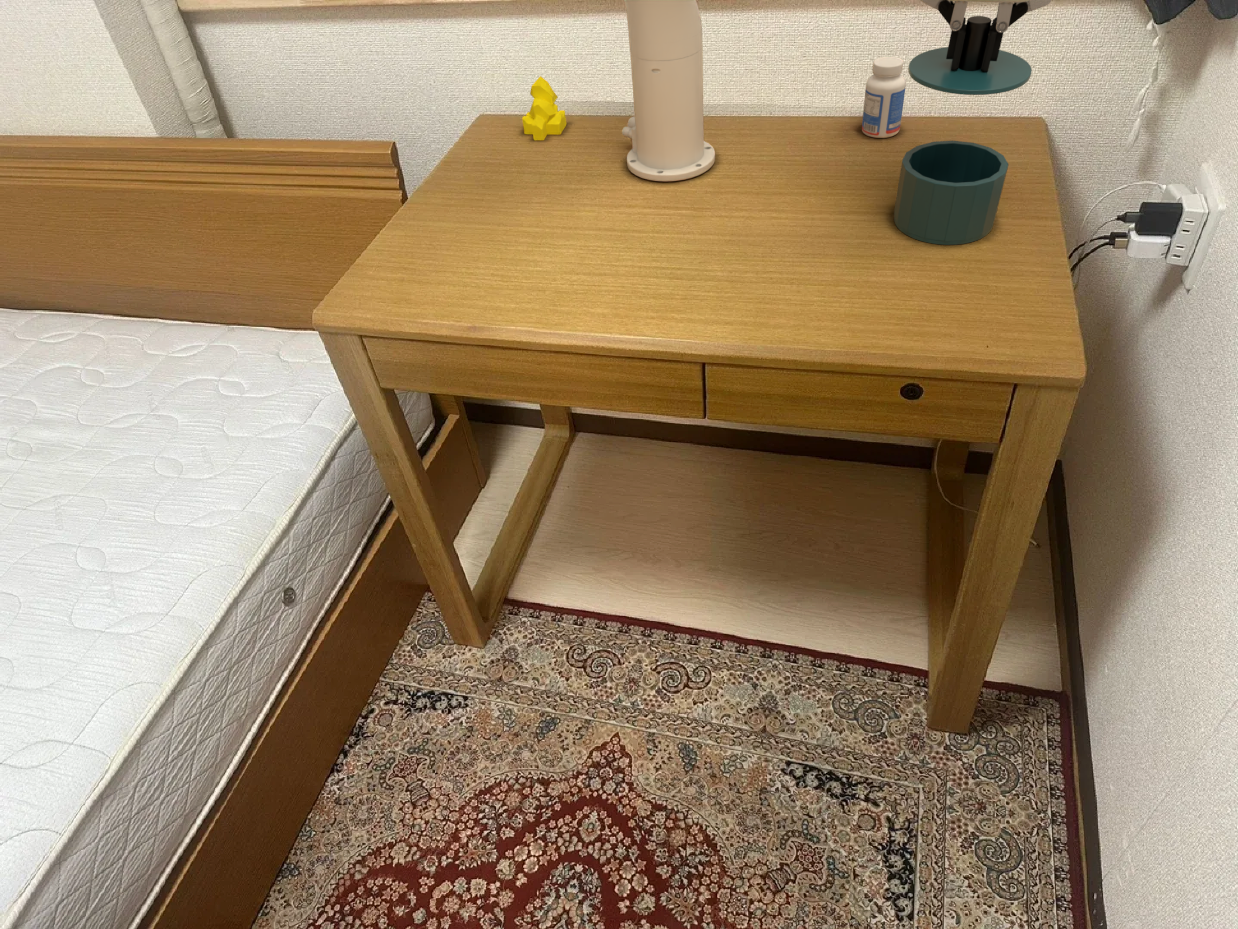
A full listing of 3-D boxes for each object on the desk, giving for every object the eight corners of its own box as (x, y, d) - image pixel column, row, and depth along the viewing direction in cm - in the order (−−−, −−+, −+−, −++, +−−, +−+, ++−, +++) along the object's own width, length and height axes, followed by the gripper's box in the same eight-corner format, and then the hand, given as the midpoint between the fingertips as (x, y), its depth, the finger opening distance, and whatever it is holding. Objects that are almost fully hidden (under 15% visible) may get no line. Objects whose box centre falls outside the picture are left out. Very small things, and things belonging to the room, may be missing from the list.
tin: (874, 223, 106) (882, 165, 100) (928, 189, 111) (939, 132, 106) (958, 255, 99) (971, 195, 94) (1011, 217, 104) (1027, 158, 99)
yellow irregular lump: (520, 139, 132) (512, 88, 127) (535, 118, 138) (527, 68, 132) (556, 140, 131) (549, 88, 125) (569, 118, 136) (563, 68, 131)
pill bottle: (897, 122, 126) (907, 52, 119) (902, 138, 122) (912, 67, 115) (858, 123, 126) (866, 54, 120) (862, 139, 123) (871, 69, 116)
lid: (884, 81, 94) (892, 24, 90) (948, 47, 100) (959, -8, 95) (988, 111, 87) (1002, 50, 83) (1051, 73, 93) (1068, 14, 88)
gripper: (920, -128, 79) (889, 76, 92) (1111, -130, 75) (1050, 84, 88) (926, -145, 84) (895, 50, 97) (1105, -148, 80) (1048, 57, 93)
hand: (969, 64), depth 92 cm, fingers closed on lid, 2 cm apart
